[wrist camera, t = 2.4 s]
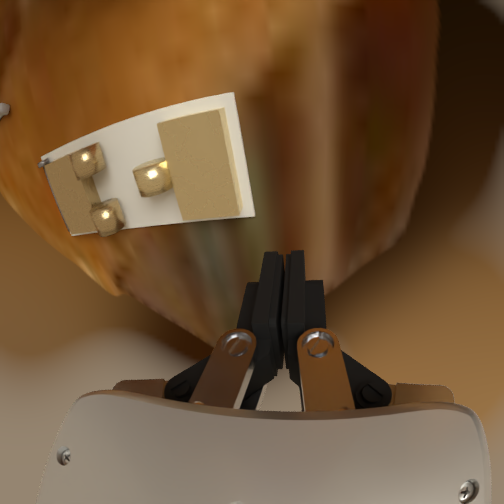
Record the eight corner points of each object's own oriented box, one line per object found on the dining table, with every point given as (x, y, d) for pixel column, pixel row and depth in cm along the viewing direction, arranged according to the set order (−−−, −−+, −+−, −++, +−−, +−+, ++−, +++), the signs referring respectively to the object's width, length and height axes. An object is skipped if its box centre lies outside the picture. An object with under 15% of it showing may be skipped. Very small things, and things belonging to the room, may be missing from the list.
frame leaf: (54, 160, 31) (35, 171, 28) (105, 138, 29) (84, 149, 26) (79, 226, 38) (64, 241, 35) (131, 218, 36) (116, 235, 32)
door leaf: (134, 129, 28) (114, 137, 25) (224, 107, 26) (213, 111, 22) (159, 214, 35) (145, 232, 31) (243, 206, 33) (236, 224, 29)
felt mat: (42, 156, 31) (40, 157, 31) (233, 92, 25) (233, 92, 25) (73, 234, 40) (71, 236, 40) (255, 214, 34) (254, 216, 33)
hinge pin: (43, 160, 31) (35, 164, 30) (50, 156, 31) (41, 161, 29) (70, 228, 39) (63, 234, 37) (77, 227, 38) (70, 233, 37)
